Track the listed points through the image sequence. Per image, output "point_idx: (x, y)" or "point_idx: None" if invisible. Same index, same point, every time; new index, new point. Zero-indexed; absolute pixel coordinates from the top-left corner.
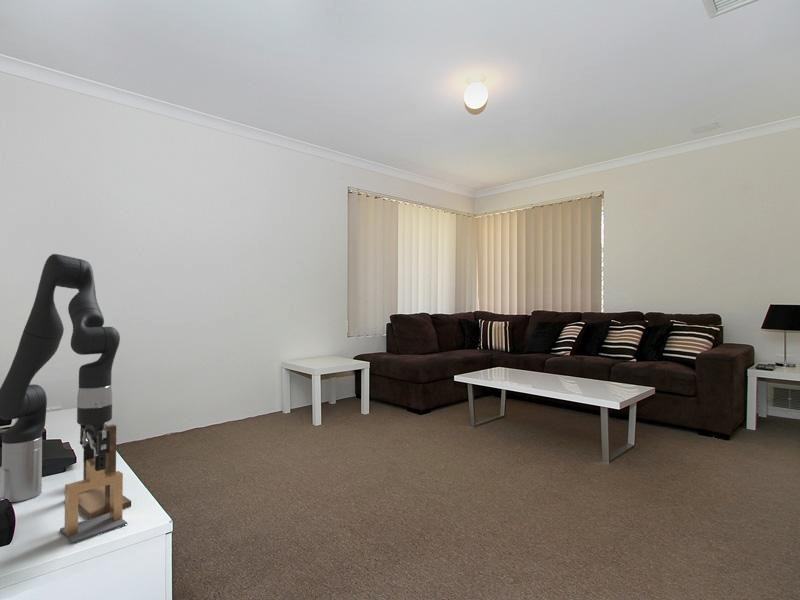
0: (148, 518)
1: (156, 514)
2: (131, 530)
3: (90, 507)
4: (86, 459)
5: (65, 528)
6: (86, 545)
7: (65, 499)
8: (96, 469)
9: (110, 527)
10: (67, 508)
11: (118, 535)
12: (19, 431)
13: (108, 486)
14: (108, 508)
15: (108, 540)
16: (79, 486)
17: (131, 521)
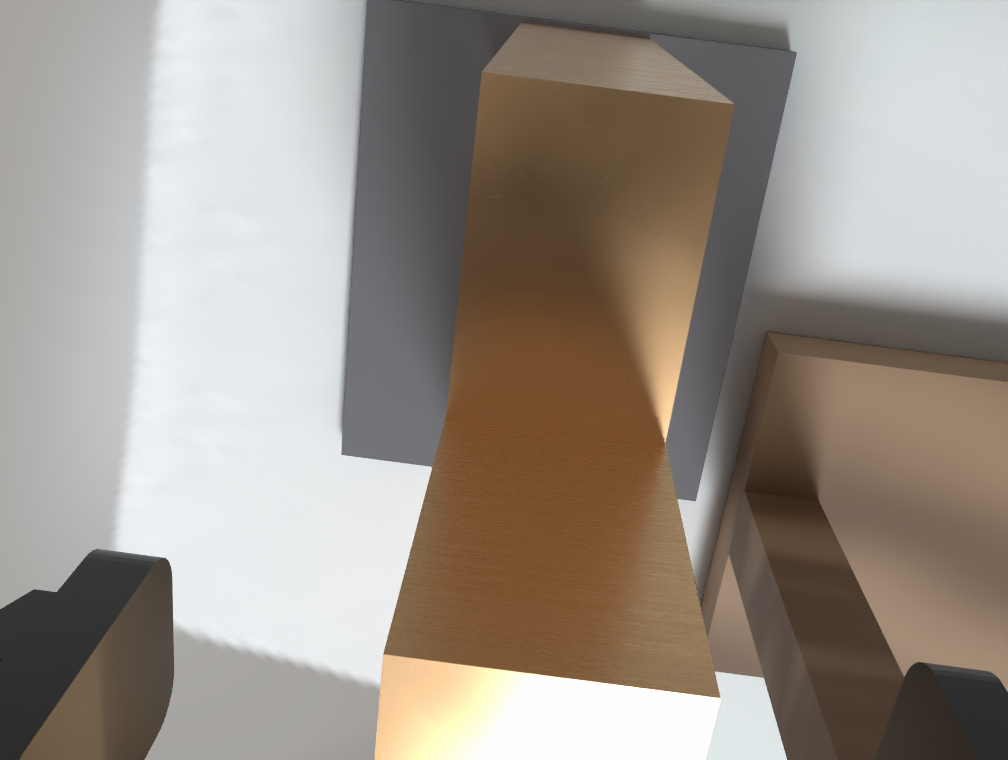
0: (319, 586)
1: (338, 651)
2: (208, 412)
3: (936, 419)
4: (933, 747)
5: (620, 37)
6: (235, 64)
7: (666, 71)
8: (93, 572)
9: (368, 333)
10: (554, 47)
11: (202, 311)
12: None
13: (793, 639)
14: (740, 496)
15: (174, 220)
16: (465, 246)
17: (384, 494)
